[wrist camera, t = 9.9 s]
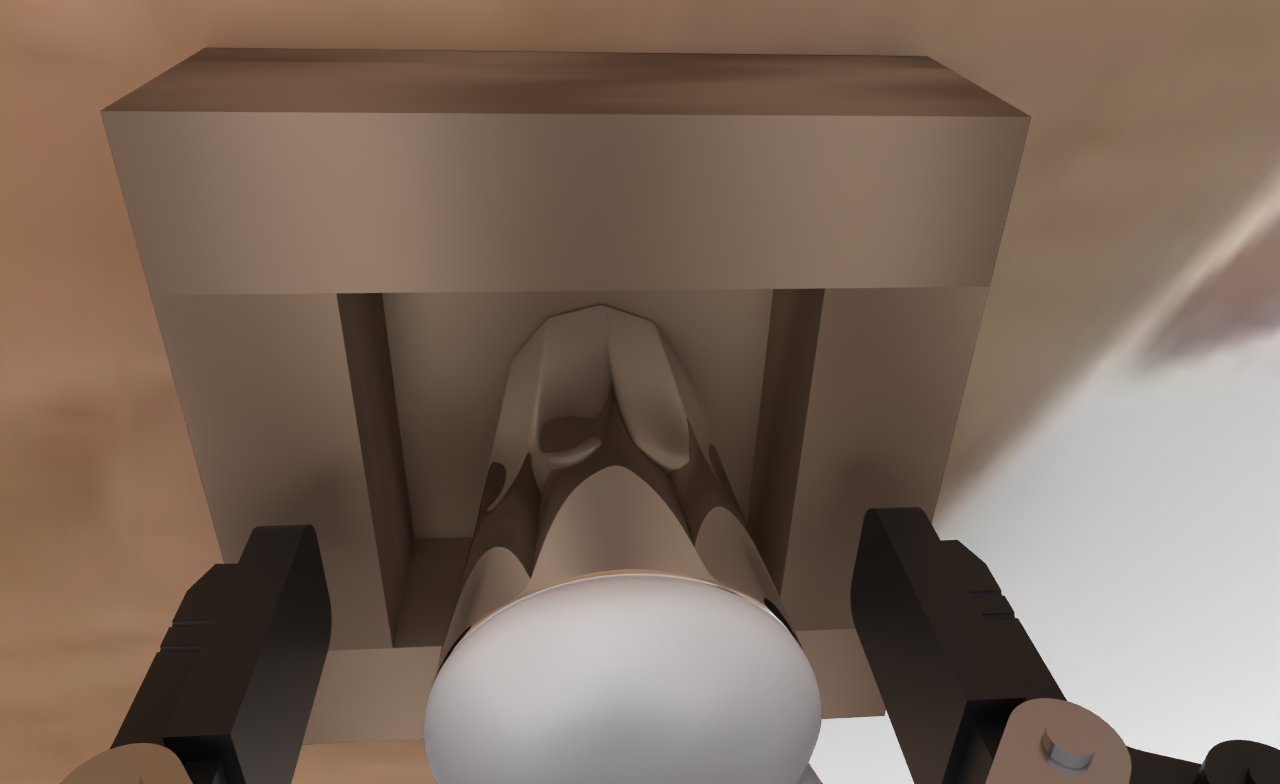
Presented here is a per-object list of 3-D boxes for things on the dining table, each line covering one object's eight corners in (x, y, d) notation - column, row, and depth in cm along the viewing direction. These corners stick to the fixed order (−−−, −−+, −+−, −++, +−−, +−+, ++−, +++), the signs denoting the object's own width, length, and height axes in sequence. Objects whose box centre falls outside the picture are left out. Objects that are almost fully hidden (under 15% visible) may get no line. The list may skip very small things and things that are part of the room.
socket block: (926, 56, 16) (1030, 116, 12) (832, 579, 22) (884, 715, 19) (204, 48, 15) (100, 110, 11) (319, 598, 21) (274, 746, 18)
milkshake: (694, 510, 19) (808, 1048, 11) (445, 441, 18) (347, 995, 9) (793, 330, 17) (1032, 816, 9) (520, 235, 16) (482, 703, 7)
